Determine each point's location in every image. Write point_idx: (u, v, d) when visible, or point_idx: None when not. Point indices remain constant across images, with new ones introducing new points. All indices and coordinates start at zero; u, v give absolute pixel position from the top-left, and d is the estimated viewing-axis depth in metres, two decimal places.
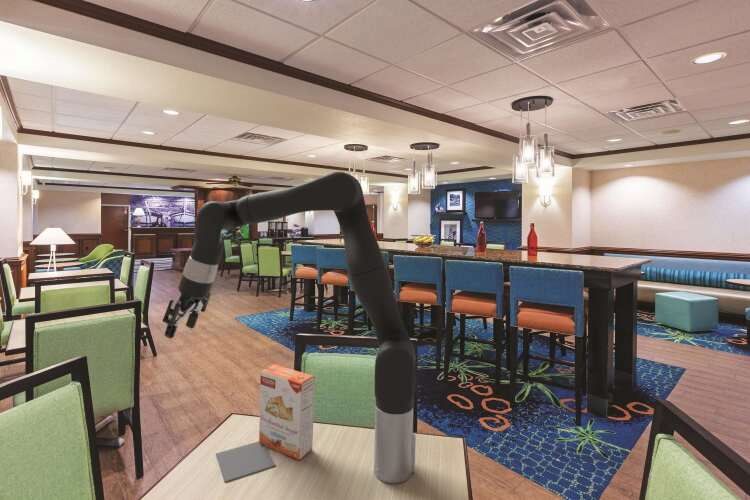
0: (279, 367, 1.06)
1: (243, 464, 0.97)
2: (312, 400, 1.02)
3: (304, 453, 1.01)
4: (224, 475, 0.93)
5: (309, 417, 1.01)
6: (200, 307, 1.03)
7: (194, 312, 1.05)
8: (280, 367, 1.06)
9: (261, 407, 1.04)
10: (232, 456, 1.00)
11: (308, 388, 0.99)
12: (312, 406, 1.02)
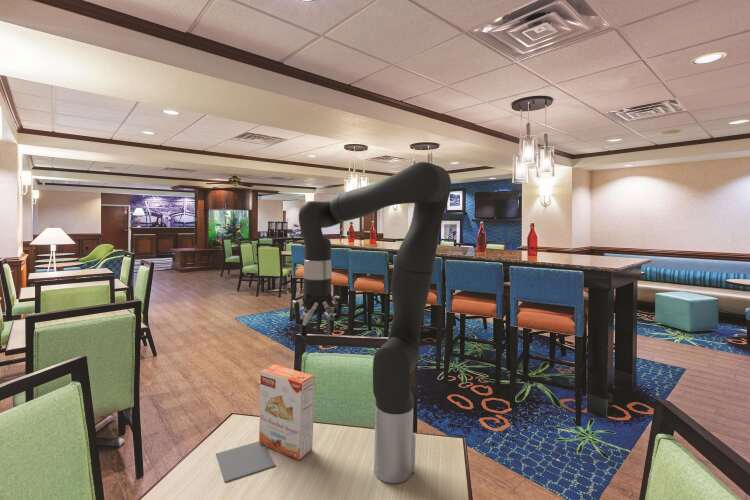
0: (279, 367, 1.06)
1: (243, 464, 0.97)
2: (312, 400, 1.02)
3: (304, 453, 1.01)
4: (224, 475, 0.93)
5: (309, 417, 1.01)
6: (329, 310, 1.05)
7: (329, 318, 1.07)
8: (280, 367, 1.06)
9: (261, 407, 1.04)
10: (232, 456, 1.00)
11: (308, 387, 0.99)
12: (312, 406, 1.02)
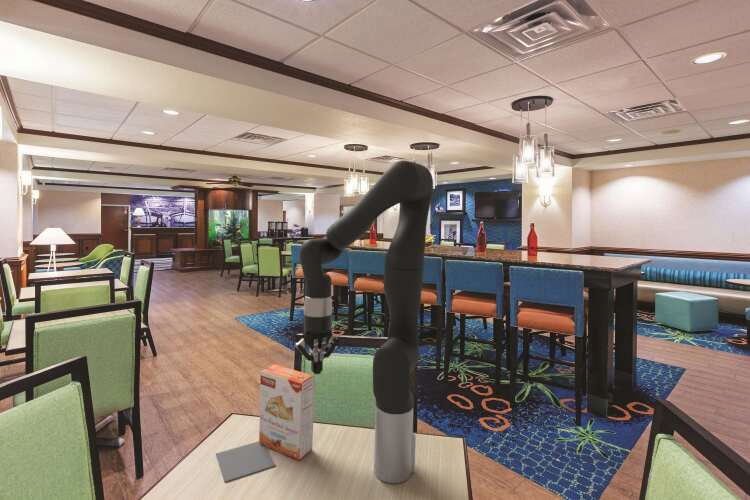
0: (279, 367, 1.06)
1: (243, 464, 0.97)
2: (312, 400, 1.02)
3: (304, 453, 1.01)
4: (224, 475, 0.93)
5: (309, 417, 1.01)
6: (324, 347, 1.06)
7: None
8: (280, 367, 1.06)
9: (261, 407, 1.04)
10: (232, 456, 1.00)
11: (308, 387, 0.99)
12: (312, 406, 1.02)
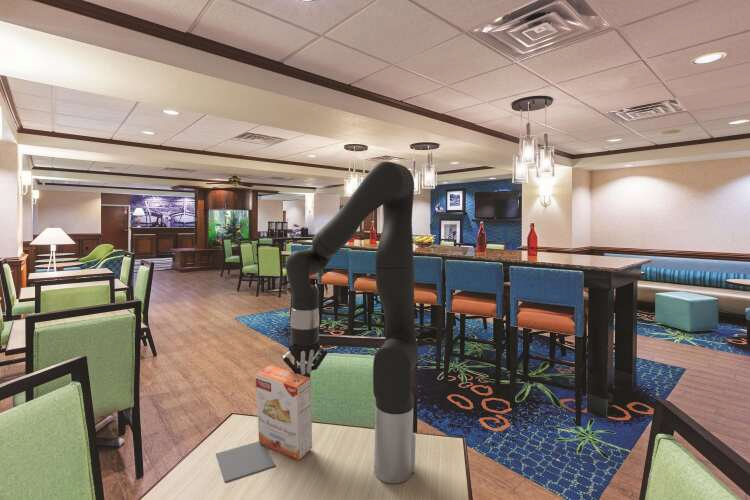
0: (274, 369, 1.04)
1: (243, 464, 0.97)
2: (309, 401, 1.00)
3: (304, 453, 1.01)
4: (224, 475, 0.93)
5: (307, 418, 1.00)
6: (311, 360, 1.04)
7: (305, 369, 1.05)
8: (276, 369, 1.04)
9: (259, 409, 1.03)
10: (232, 456, 1.00)
11: (304, 390, 0.98)
12: (310, 407, 1.01)
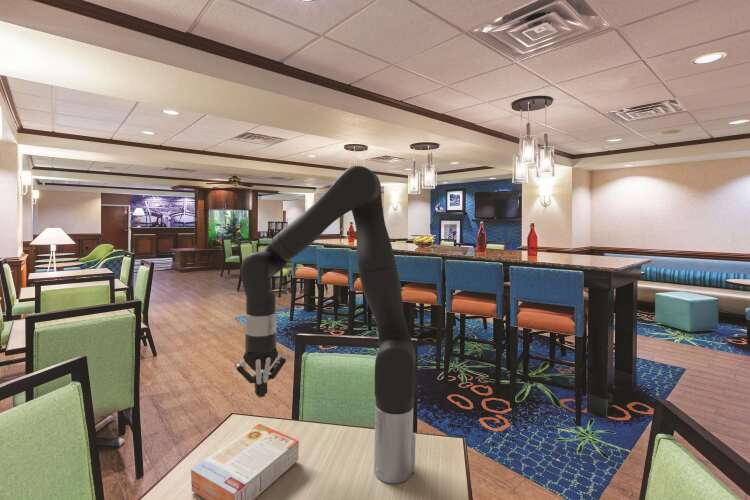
0: (198, 479, 0.85)
1: None
2: (257, 477, 0.86)
3: (296, 454, 0.98)
4: None
5: (270, 471, 0.89)
6: (267, 368, 0.98)
7: (261, 379, 0.99)
8: (199, 478, 0.85)
9: None
10: None
11: (242, 499, 0.82)
12: (262, 472, 0.87)
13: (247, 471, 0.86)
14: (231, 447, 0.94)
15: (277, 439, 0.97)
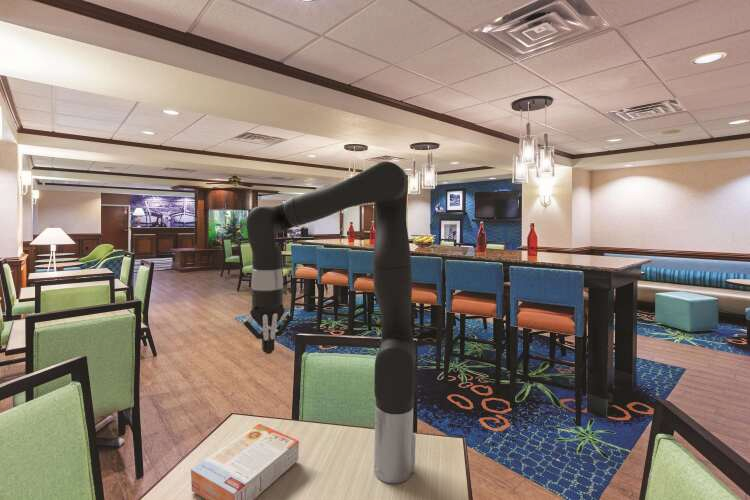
0: (198, 479, 0.85)
1: None
2: (257, 477, 0.86)
3: (296, 454, 0.98)
4: None
5: (270, 471, 0.89)
6: (274, 325, 0.98)
7: (268, 335, 0.99)
8: (199, 478, 0.85)
9: None
10: None
11: (242, 499, 0.82)
12: (262, 472, 0.87)
13: (247, 471, 0.86)
14: (231, 447, 0.94)
15: (277, 439, 0.97)
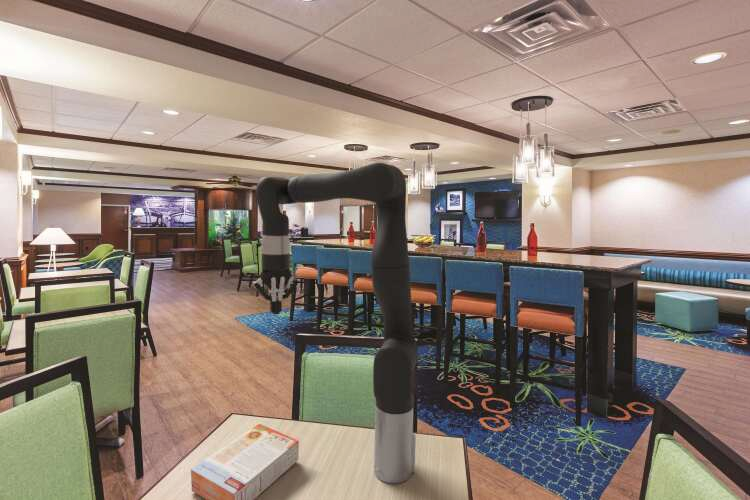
0: (198, 479, 0.85)
1: None
2: (257, 477, 0.86)
3: (296, 454, 0.98)
4: None
5: (270, 471, 0.89)
6: (282, 287, 1.06)
7: (276, 297, 1.07)
8: (199, 478, 0.85)
9: None
10: None
11: (242, 499, 0.82)
12: (262, 472, 0.87)
13: (247, 471, 0.86)
14: (231, 447, 0.94)
15: (277, 439, 0.97)
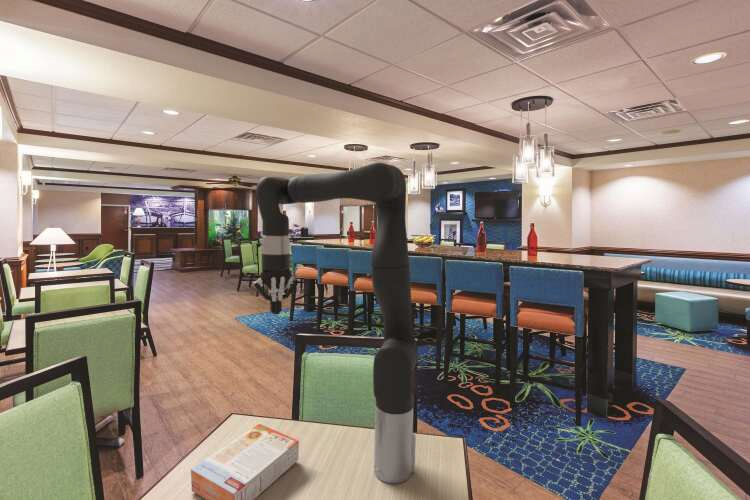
0: (198, 479, 0.85)
1: None
2: (257, 477, 0.86)
3: (296, 454, 0.98)
4: None
5: (270, 471, 0.89)
6: (282, 287, 1.06)
7: (276, 298, 1.07)
8: (199, 478, 0.85)
9: None
10: None
11: (242, 499, 0.82)
12: (262, 472, 0.87)
13: (247, 471, 0.86)
14: (231, 447, 0.94)
15: (277, 439, 0.97)
